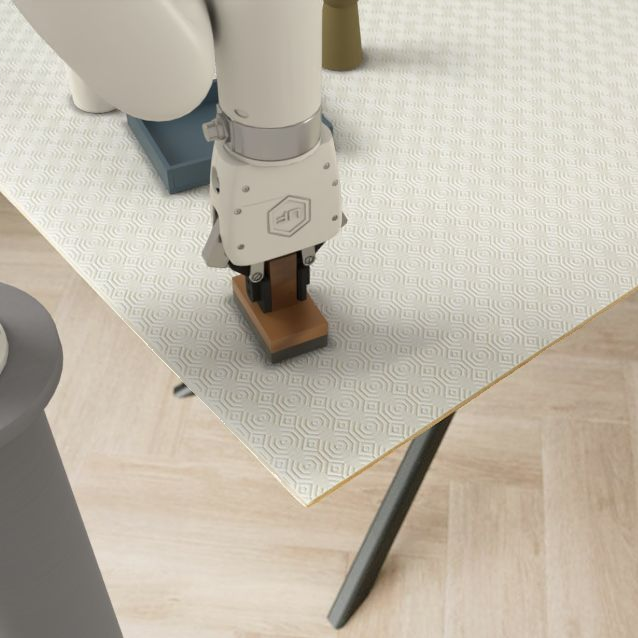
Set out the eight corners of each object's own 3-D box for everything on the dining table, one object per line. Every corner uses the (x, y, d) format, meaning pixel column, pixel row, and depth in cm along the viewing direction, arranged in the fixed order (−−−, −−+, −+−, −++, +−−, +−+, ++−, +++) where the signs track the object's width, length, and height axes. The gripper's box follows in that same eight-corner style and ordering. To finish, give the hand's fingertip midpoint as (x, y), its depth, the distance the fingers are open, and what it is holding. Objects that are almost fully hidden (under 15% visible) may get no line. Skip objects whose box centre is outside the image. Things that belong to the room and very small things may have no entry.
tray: (170, 194, 96) (166, 170, 94) (127, 124, 104) (123, 100, 102) (332, 149, 102) (333, 126, 100) (280, 86, 111) (280, 63, 108)
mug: (138, 105, 107) (123, 8, 98) (83, 121, 104) (62, 23, 96) (106, 65, 113) (88, -30, 104) (53, 79, 110) (31, -17, 101)
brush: (272, 365, 80) (268, 292, 74) (233, 300, 86) (227, 226, 79) (327, 345, 82) (329, 272, 76) (286, 283, 88) (284, 209, 81)
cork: (369, 66, 114) (374, -19, 106) (324, 74, 113) (325, -12, 105) (353, 42, 118) (356, -41, 110) (308, 49, 117) (308, -35, 108)
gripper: (185, 177, 63) (208, 354, 77) (390, 121, 68) (378, 296, 82) (150, 121, 68) (178, 297, 81) (345, 72, 73) (340, 245, 86)
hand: (278, 295), depth 81 cm, fingers closed
